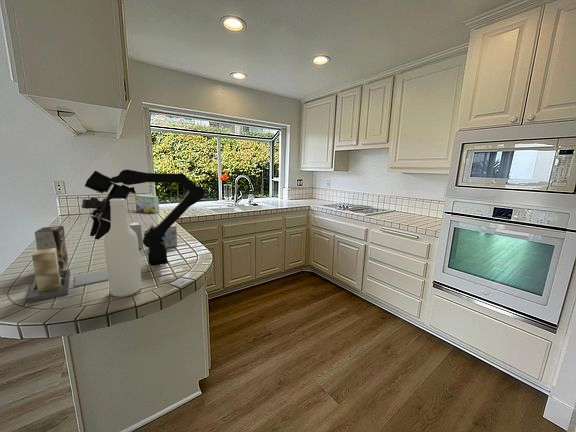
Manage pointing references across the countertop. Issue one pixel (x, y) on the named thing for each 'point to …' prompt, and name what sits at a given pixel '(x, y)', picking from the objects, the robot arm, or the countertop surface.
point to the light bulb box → (170, 236)
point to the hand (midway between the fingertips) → (93, 237)
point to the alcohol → (122, 253)
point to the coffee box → (53, 243)
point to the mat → (91, 278)
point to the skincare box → (137, 233)
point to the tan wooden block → (46, 269)
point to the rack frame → (49, 293)
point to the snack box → (147, 203)
